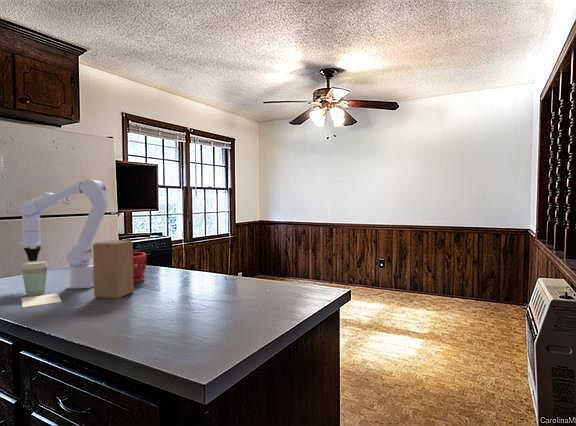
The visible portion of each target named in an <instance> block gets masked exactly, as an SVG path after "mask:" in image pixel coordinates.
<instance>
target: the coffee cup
mask: <svg viewBox="0 0 576 426" xmlns="http://www.w3.org/2000/svg"><path fill="white" fill-rule="evenodd" d="M48 267H49V264H48V263H47V261H46V260H37V261H31V262H29V261H25V262H22V263H21V266H20V270H21V272H22V278H23V285H24V290H25V296H27V297H34V296H41V295H45V293H46V286H47V285H46V284H47V275H48V274H47V273H48Z"/></svg>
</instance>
